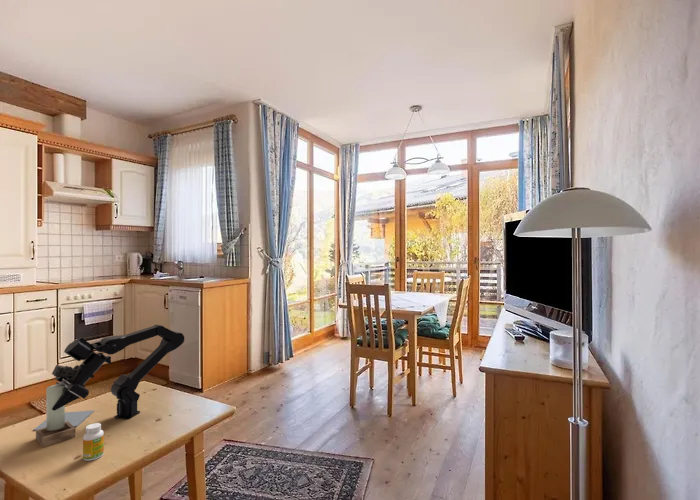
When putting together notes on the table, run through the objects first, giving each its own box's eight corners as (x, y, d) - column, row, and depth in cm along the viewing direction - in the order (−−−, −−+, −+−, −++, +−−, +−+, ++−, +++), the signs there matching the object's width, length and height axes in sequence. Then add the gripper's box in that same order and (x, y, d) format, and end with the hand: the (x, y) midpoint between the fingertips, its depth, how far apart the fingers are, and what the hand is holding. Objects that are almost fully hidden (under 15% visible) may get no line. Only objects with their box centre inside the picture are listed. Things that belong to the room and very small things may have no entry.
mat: (94, 411, 151) (94, 410, 151) (76, 426, 138) (76, 425, 138) (55, 414, 149) (55, 413, 149) (33, 430, 135) (33, 429, 135)
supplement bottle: (93, 462, 115) (93, 430, 115) (78, 460, 116) (78, 428, 116) (107, 453, 120) (107, 422, 120) (93, 451, 121) (93, 421, 121)
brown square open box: (67, 429, 136) (67, 420, 136) (75, 436, 130) (75, 428, 130) (35, 438, 129) (35, 430, 129) (42, 447, 123) (42, 438, 123)
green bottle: (68, 424, 132) (68, 384, 132) (55, 431, 127) (54, 389, 127) (56, 423, 133) (56, 383, 133) (42, 429, 128) (42, 388, 128)
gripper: (61, 351, 139) (22, 389, 130) (77, 360, 127) (36, 403, 118) (86, 367, 145) (51, 405, 136) (104, 377, 133) (66, 419, 124)
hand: (50, 407), depth 129 cm, fingers closed on green bottle, 5 cm apart
